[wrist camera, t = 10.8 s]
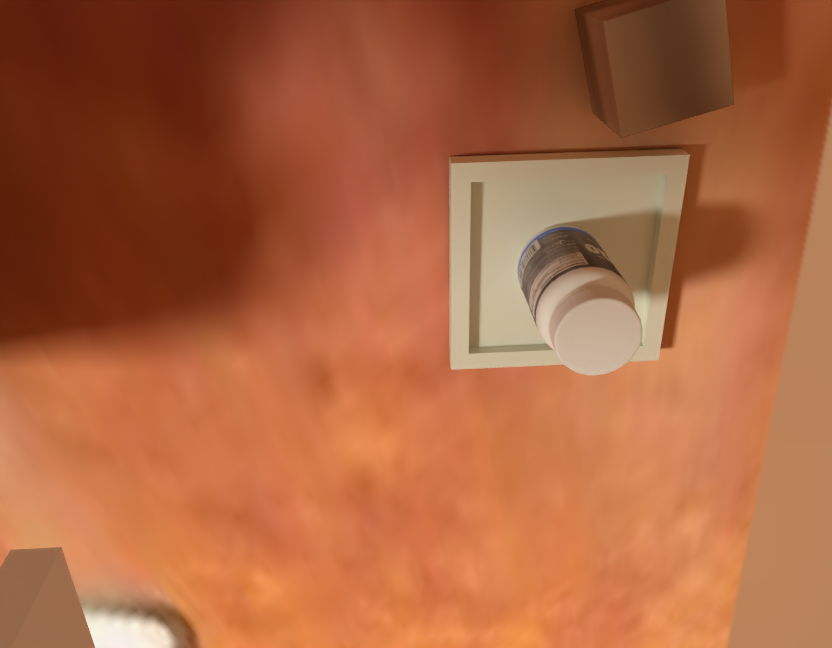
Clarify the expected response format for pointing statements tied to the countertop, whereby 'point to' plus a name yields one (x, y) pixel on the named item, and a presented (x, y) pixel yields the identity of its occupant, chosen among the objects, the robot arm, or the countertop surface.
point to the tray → (546, 207)
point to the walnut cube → (655, 61)
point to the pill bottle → (579, 300)
